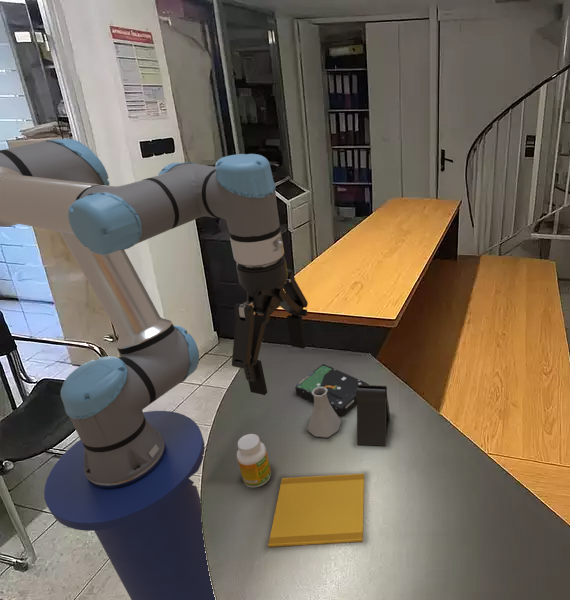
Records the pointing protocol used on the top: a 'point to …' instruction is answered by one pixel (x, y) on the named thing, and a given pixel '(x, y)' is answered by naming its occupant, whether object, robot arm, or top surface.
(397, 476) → the top surface
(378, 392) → the phone stand
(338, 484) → the yellow tray
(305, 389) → the disk drive
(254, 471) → the supplement bottle
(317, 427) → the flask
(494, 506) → the top surface
